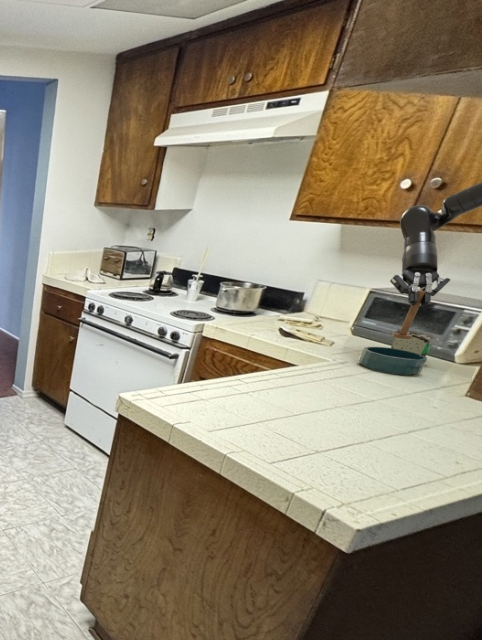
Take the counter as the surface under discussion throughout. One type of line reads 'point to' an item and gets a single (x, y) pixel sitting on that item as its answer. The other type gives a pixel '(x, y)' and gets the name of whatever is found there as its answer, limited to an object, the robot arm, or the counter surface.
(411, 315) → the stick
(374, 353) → the bowl
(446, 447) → the counter surface
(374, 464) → the counter surface
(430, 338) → the sandwich
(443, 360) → the counter surface
